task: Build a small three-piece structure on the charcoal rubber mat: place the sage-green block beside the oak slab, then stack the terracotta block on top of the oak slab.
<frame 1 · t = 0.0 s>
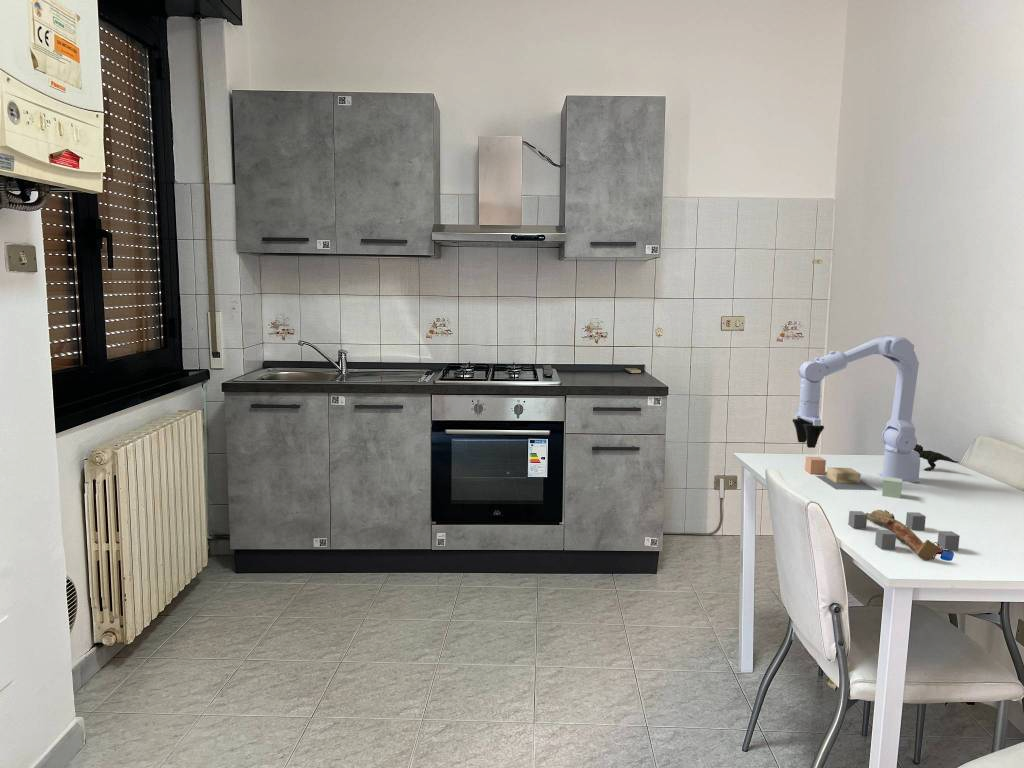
hand: (806, 444, 226), 10 cm above the table, tool pointing down, fingers open, 7 cm apart
toy: (932, 471, 239), on the table
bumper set: (900, 537, 173), on the table
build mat: (845, 484, 220), on the table
sage cube: (891, 496, 207), on the table
terracotta cube: (814, 473, 232), on the table
oak slab: (842, 480, 223), resting on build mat
figurine: (897, 539, 173), on the table
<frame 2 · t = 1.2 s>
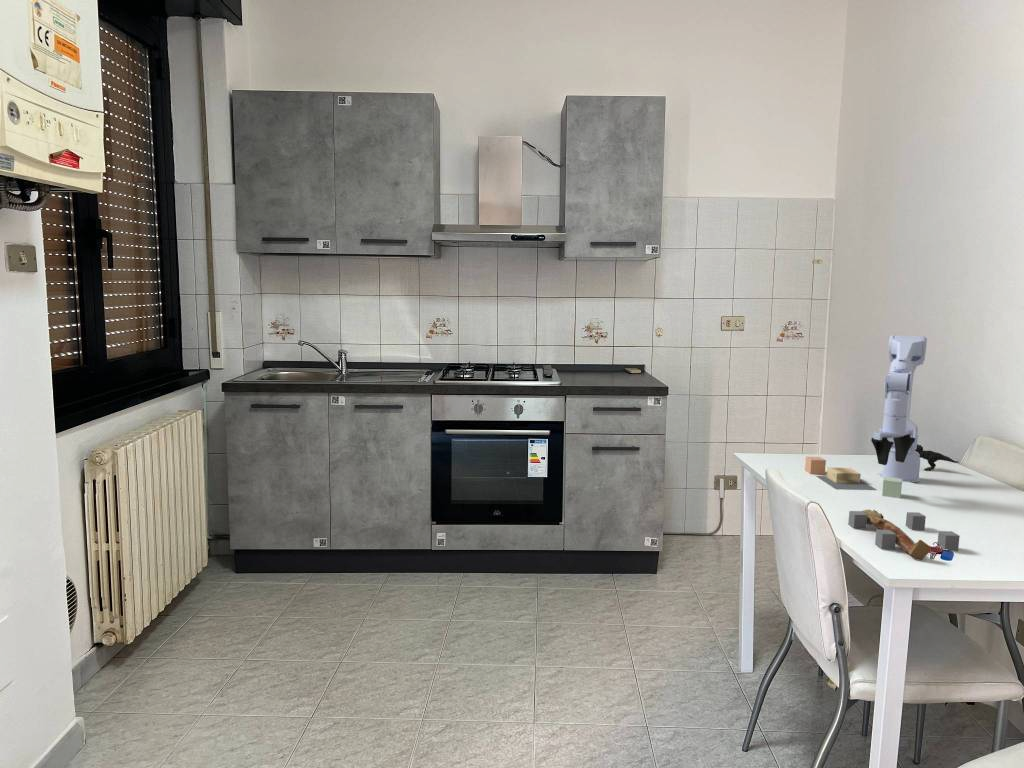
hand: (891, 463, 207), 9 cm above the table, tool pointing down, fingers open, 7 cm apart
figurine: (887, 539, 173), on the table
everything else where it was.
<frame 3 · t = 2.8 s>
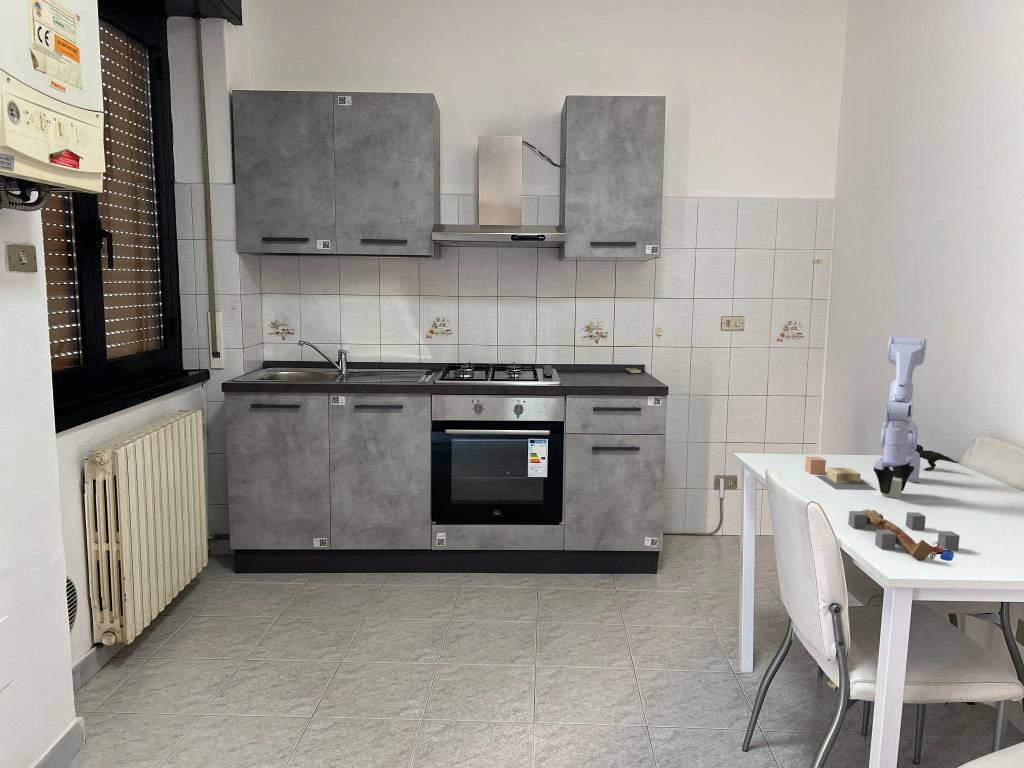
hand: (891, 491, 207), 1 cm above the table, tool pointing down, fingers closed on sage cube, 6 cm apart
sage cube: (891, 496, 207), on the table, touching gripper
everything else where it was.
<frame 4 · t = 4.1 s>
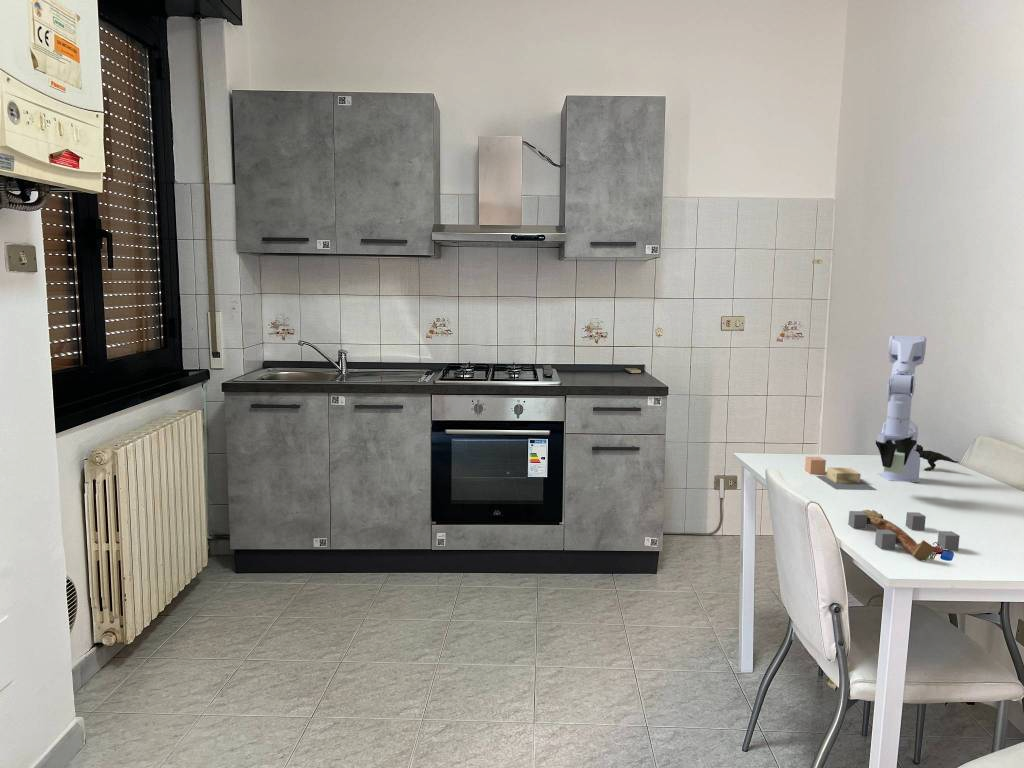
hand: (894, 465, 206), 9 cm above the table, tool pointing down, fingers closed on sage cube, 6 cm apart
sage cube: (893, 470, 206), point 7 cm above the table, touching gripper
figurine: (888, 539, 173), on the table, touching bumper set
everything else where it was.
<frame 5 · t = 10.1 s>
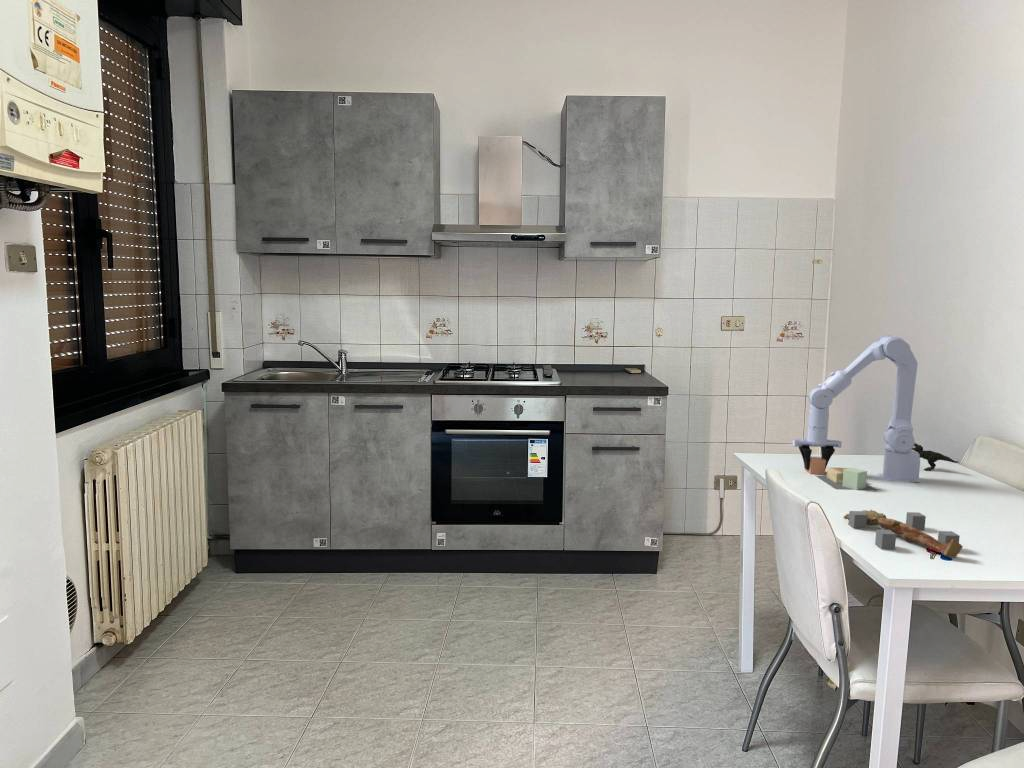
hand: (814, 469, 232), 1 cm above the table, tool pointing down, fingers closed on terracotta cube, 4 cm apart
sage cube: (854, 486, 215), resting on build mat
terracotta cube: (814, 473, 232), on the table, touching gripper
figurine: (898, 539, 174), on the table
everything else where it was.
when the fingers open (6 cm above the table, at t = 13.4 s): terracotta cube stays where it is, resting on oak slab.
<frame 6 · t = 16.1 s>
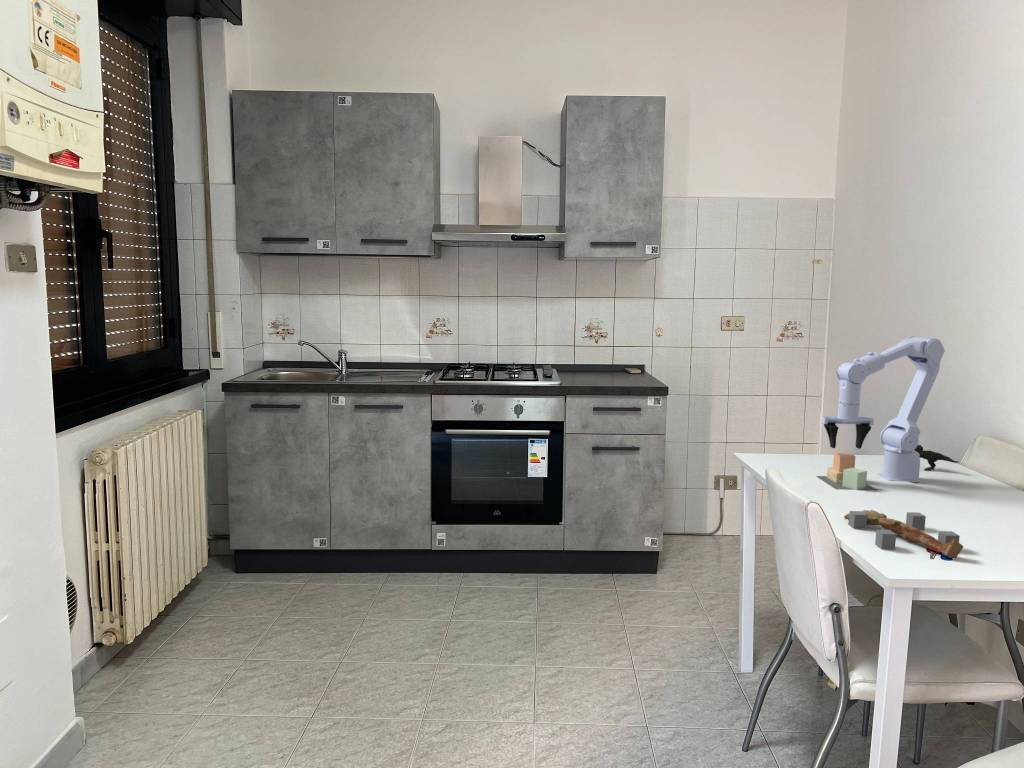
hand: (845, 447, 221), 10 cm above the table, tool pointing down, fingers open, 7 cm apart
terracotta cube: (843, 470, 223), point 3 cm above the table, touching oak slab
oak slab: (842, 480, 223), resting on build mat, touching terracotta cube
figurine: (898, 539, 173), on the table, touching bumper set
everything else where it was.
at the end: terracotta cube 0.1 cm off-centre on the oak slab, point 3.0 cm above the oak slab's base; terracotta cube tilted 0°; sage cube 0.1 cm from the target spot, resting on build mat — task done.
